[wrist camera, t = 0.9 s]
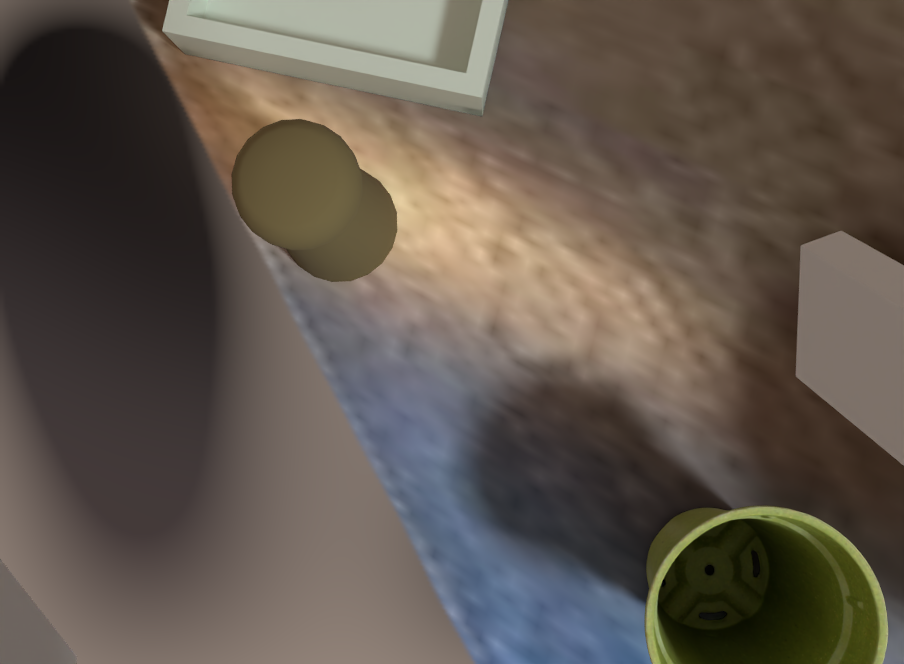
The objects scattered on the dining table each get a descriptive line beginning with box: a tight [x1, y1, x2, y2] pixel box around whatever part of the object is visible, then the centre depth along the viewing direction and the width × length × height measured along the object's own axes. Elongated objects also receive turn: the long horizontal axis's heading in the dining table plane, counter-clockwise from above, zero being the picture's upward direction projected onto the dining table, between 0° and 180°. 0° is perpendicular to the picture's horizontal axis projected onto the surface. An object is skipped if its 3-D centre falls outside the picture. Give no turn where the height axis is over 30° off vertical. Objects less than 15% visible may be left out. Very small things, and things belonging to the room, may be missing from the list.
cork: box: [232, 119, 397, 282], centre depth 37 cm, size 6×6×11 cm
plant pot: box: [645, 506, 888, 664], centre depth 36 cm, size 9×9×9 cm
